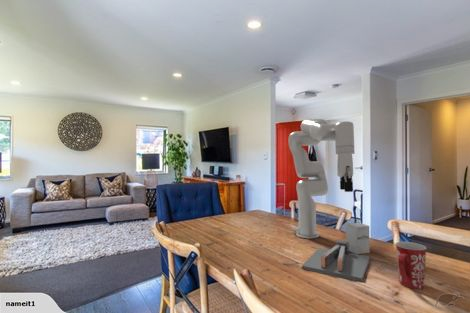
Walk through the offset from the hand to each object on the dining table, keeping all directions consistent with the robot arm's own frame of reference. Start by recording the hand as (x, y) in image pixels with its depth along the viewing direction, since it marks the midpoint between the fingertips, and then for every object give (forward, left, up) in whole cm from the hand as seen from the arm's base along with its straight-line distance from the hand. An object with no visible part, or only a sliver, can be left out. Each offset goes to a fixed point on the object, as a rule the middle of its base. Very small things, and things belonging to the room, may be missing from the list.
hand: (346, 190), depth 115 cm
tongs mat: (-3, -6, -30) cm, 31 cm away
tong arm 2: (-1, -7, -29) cm, 29 cm away
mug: (+22, -13, -30) cm, 39 cm away
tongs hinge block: (-3, +5, -29) cm, 29 cm away
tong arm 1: (-5, -7, -28) cm, 30 cm away
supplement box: (+2, +14, -30) cm, 33 cm away
